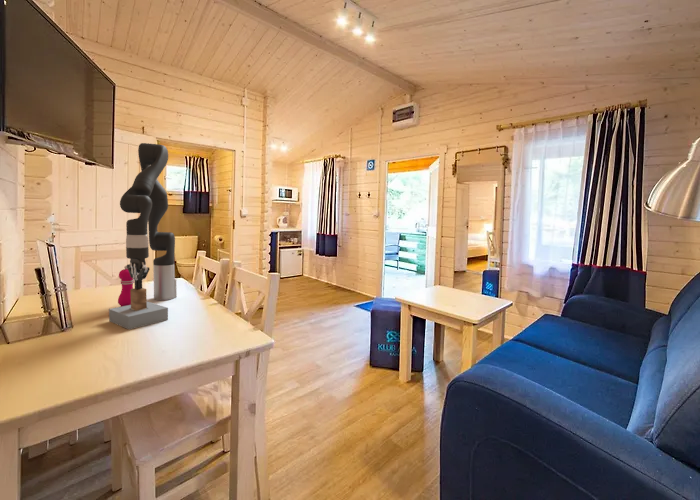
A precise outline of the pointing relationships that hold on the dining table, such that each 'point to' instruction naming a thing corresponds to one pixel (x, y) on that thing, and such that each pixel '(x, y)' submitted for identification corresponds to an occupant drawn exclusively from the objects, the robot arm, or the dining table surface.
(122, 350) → the dining table surface
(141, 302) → the walnut peg
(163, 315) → the socket board
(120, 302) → the pepper mill
